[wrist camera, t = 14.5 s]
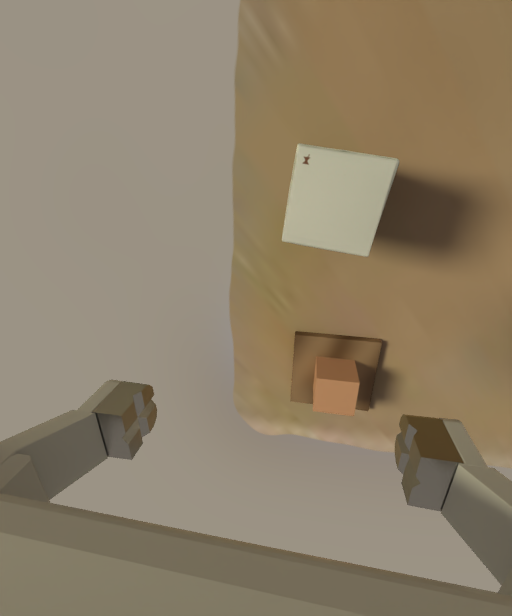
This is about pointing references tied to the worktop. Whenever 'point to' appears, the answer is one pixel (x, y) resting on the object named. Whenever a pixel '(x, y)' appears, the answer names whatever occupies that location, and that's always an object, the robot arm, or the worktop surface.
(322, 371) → the terracotta cube
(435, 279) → the worktop surface
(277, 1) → the worktop surface
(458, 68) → the worktop surface
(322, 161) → the supplement box
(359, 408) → the walnut board
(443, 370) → the worktop surface
